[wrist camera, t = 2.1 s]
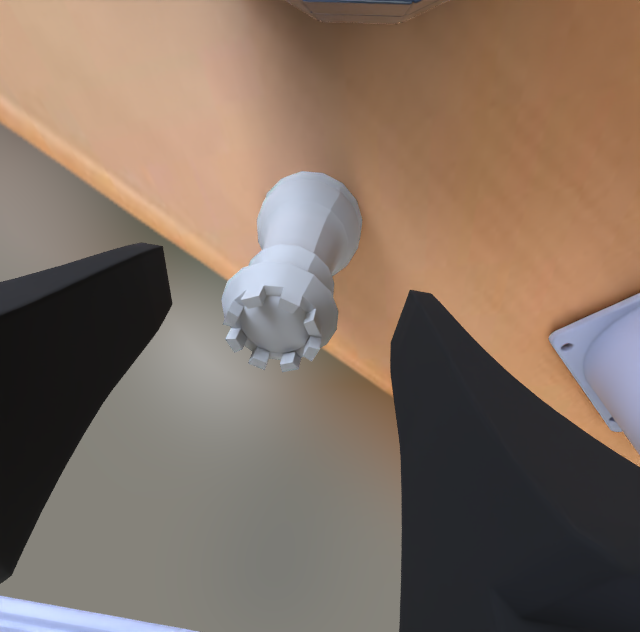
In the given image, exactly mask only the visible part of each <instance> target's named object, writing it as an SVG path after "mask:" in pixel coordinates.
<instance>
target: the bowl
mask: <svg viewBox="0 0 640 632" xmlns="http://www.w3.org/2000/svg"><path fill="white" fill-rule="evenodd" d="M284 1H286V2H287V3H289V4H291V5H292V6H294V7H296V8H297V9H299V10H301V11H302V12H304V13H306V14H307V15H309V16H311V17H312V18H314V19H316V20H317V21H322V22H336V23H368V24H398V23H399V22H400V23H403V22H405V21H407V20H409V19H411V18H413V17H416V16H418V15H420V14H422V13H424V12H426V11H428V10H430V9H432V8H434V7H436V6H438V5H441V4H443V3H445V2H447V1H449V0H284Z"/></svg>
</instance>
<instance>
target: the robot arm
mask: <svg viewBox="0 0 640 632" xmlns="http://www.w3.org/2000/svg"><path fill="white" fill-rule="evenodd" d="M171 306H172V299H171V293H170V287H169V281H168V275H167V269H166V263H165V257H164V251H163V246H158V245H152V244H147V243H137V244H132V245H128V246H124V247H121V248H117V249H113V250H110V251H107V252H103V253H100V254H97V255H94V256H90V257H87V258H84V259H81V260H78V261H74V262H71V263H68V264H65V265H62V266H58V267H54V268H51V269H47V270H44V271H40V272H37V273H33V274H29V275H26V276H23V277H19V278H15V279H11V280H7V281H3V282H0V583H2V582H4V581H5V580H6V579H8V578H9V577H10V576H11V575H12V574H13V571H14V569H15V567H16V565H17V562H18V560H19V558H20V556H21V554H22V551H23V549H24V547H25V545H26V543H27V541H28V539H29V537H30V535H31V533H32V531H33V529H34V526H35V524H36V522H37V520H38V518H39V516H40V514H41V512H42V510H43V508H44V506H45V504H46V502H47V500H48V498H49V496H50V495H51V492H52V491H53V489H54V487H55V485H56V483H57V481H58V479H59V477H60V475H61V474H62V472H63V470H64V468H65V466H66V464H67V462H68V461H69V459H70V457H71V456H72V454H73V452H74V451H75V449H76V447H77V445H78V443H79V441H80V440H81V438H82V436H83V435H84V433H85V432H86V430H87V428H88V427H89V425H90V423H91V422H92V420H93V418H94V417H95V415H96V414H97V412H98V410H99V409H100V407H101V405H102V404H103V402H104V401H105V399H106V398H107V397H108V395H109V394H110V392H111V391H112V390H113V388H114V387H115V386H116V384H117V383H118V382H119V381H120V379H121V378H122V377H123V375H124V374H125V373H126V372H127V370H128V369H129V368H130V366H131V365H132V364H133V363H134V361H135V360H136V359H137V357H138V356H139V355H140V354H141V352H142V351H143V350H144V348H145V347H146V346H147V344H148V343H149V342H150V340H151V339H152V338H153V337H154V335H155V334H156V332H157V331H158V330H159V328H160V326H161V324H162V323H163V321H164V319H165V317H166V315H167V313H168V311H169V310H170V307H171ZM549 342H550V343H551V345H552V346H553V348H554V349H555V350H556V352H557V353H558V355H559V356H560V358H561V359H562V360H563V362H564V363H565V365H566V366H567V368H568V369H569V371H570V372H571V373H572V375H573V376H574V378H575V379H576V381H577V382H578V384H579V385H580V386H581V388H582V389H583V391H584V392H585V394H586V395H587V397H588V398H589V399H590V401H591V402H592V404H593V405H594V407H595V408H596V409H597V411H598V412H599V414H600V415H601V417H602V418H603V420H604V421H605V422H606V424H607V425H608V427H609V428H610V430H612V431H615V432H621V431H623V432H624V434H625V435H626V437H627V438H628V439H629V441H630V442H631V444H632V445H633V446H634V448H635V449H636V451H637V452H638V453H639V455H640V293H638V294H636V295H634V296H632V297H629V298H627V299H625V300H623V301H621V302H618V303H616V304H614V305H612V306H609V307H607V308H605V309H603V310H600V311H598V312H596V313H594V314H592V315H589V316H587V317H585V318H583V319H580V320H578V321H576V322H574V323H572V324H569V325H567V326H565V327H563V328H560V329H558V330H556V331H554V332H553V333H551V335H550V336H549ZM567 343H568V344H567ZM564 344H566V345H564ZM563 345H564V346H563ZM390 369H391V380H392V388H393V396H394V404H395V411H396V419H397V427H398V434H399V443H400V454H401V486H402V559H401V561H402V562H401V600H400V629H399V632H640V467H638V466H637V465H635V464H634V463H632V462H630V461H629V460H627V459H626V458H624V457H622V456H621V455H619V454H618V453H616V452H615V451H613V450H612V449H610V448H608V447H607V446H605V445H604V444H602V443H601V442H599V441H598V440H596V439H595V438H593V437H592V436H590V435H589V434H588V433H586V432H585V431H583V430H582V429H581V428H579V427H578V426H576V425H575V424H574V423H572V422H571V421H569V420H568V419H567V418H565V417H564V416H562V415H561V414H560V413H558V412H557V411H555V410H554V409H553V408H552V407H550V406H549V405H548V404H546V403H545V402H544V401H542V400H541V399H540V398H539V397H537V396H536V395H535V394H534V393H532V392H531V391H530V390H529V389H528V388H526V387H525V386H524V385H523V384H522V383H520V382H519V381H518V380H517V379H515V378H514V377H513V376H512V375H511V374H510V373H509V372H507V371H506V370H505V369H504V368H503V367H502V366H501V365H500V364H499V363H498V362H497V361H496V360H495V359H494V358H493V357H491V356H490V355H489V354H488V353H487V352H486V351H485V350H484V349H483V348H482V347H481V346H480V345H479V344H478V343H477V342H476V341H475V340H474V339H473V338H472V337H471V336H470V334H469V333H468V332H467V331H466V330H465V329H464V328H463V327H462V326H461V325H460V324H459V323H458V322H457V320H456V319H455V318H454V317H453V316H452V315H451V314H450V313H449V312H448V311H447V309H446V308H445V307H444V306H443V305H442V304H441V303H440V302H439V301H438V300H437V299H436V298H435V297H434V296H433V295H432V294H431V293H425V292H419V291H414V290H410V291H409V294H408V297H407V299H406V302H405V305H404V308H403V310H402V313H401V316H400V319H399V321H398V324H397V327H396V330H395V332H394V335H393V338H392V341H391V358H390ZM0 632H199V631H194V630H188V629H183V628H177V627H172V626H166V625H160V624H155V623H149V622H144V621H138V620H133V619H127V618H122V617H115V616H111V615H105V614H99V613H94V612H88V611H83V610H77V609H72V608H66V607H61V606H55V605H49V604H44V603H38V602H33V601H27V600H22V599H16V598H11V597H5V596H0Z"/></svg>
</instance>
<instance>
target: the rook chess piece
mask: <svg viewBox="0 0 640 632" xmlns="http://www.w3.org/2000/svg"><path fill="white" fill-rule="evenodd" d="M361 227H362V217H361V213H360V210H359V206H358V203H357V200H356V199H355V198H354V196H353V195H352V194H351V193H350V191H349V190H348V189H347V188H346V186H345V185H344V184H343V183H341V182H339V181H337V180H336V179H334V178H332V177H330V176H328V175H326V174H324V173H316V172H304V171H301V172H298V173H296V174H293V175H290V176H287V177H285V178H282V179H281V180H280V181H279V182H278V183H277V184H276V185H275V186H274V187H273V188H272V189H271V190H270V191H269V192H268V193H267V196H266V198H265V200H264V201H263V204H262V207H261V210H260V212H259V215H258V218H257V229H258V242H259V244H260V246H261V248H262V250H261V251H260V252H259V253H258V254H257V255H256V256H255V257H254V258H252V259H251V261H250V263H249V266H247V267H244V268H242V269H241V270H240V271H239V272H237V273H236V274H235V275H234V276H233V277H232V278H231V279H230V280H228V281H227V284H226V288H225V290H224V293H223V296H222V299H221V300H222V306H223V312H224V318H225V320H224V323H223V324H224V325H227V326H230V327H231V329H230V331H229V333H228V335H227V337H226V341H227V342H228V344H229V345H230V347H231V348H232V350H233V351H234V352H237V351H239V350H242V349H243V347H244V345H245V346H246V347H247V348H248V349H250V350H251V351H252V355H251V357H250V360H249V362H248V363H249V364H251V365H254V366H256V367H258V368H261V369H263V370H265V368H266V365H267V362H268V359H278V360H281V363H280V366H281V370H282V372H285V371H290V370H297V369H299V364H300V360H301V357H305V358H307V359H309V360H310V361H312V360H313V358H314V357H315V356H316V354H317V353H318V351H319V350H320V348H321V347H323V346H325V345H326V344H327V343H328V342H329V340H330V339H331V337H332V336H333V334H334V333H335V331H336V330H337V320H338V309H337V306H336V304H335V301H334V299H333V292H334V281H333V278H332V276H334V275H335V274H336V273H338V272H339V271H340V270H342V269H343V268H345V267H346V266H347V265H348V263H349V262H350V260H351V259H352V257H353V255H354V254H355V252H356V250H357V249H358V244H359V240H360V235H361Z"/></svg>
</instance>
